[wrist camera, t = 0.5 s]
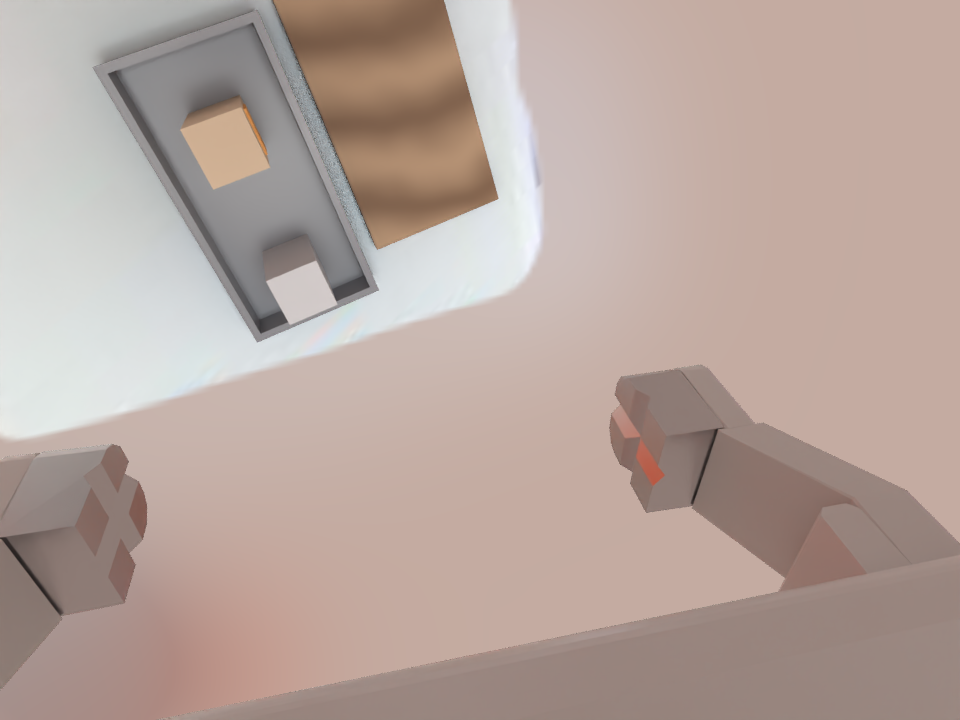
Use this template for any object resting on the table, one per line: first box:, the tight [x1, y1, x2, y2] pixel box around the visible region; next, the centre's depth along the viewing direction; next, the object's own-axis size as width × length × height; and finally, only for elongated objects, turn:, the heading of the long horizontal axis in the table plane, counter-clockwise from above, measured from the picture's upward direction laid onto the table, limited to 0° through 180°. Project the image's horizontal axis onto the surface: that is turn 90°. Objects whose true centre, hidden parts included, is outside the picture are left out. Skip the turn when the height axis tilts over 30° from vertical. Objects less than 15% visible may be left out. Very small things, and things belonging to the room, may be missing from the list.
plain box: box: [262, 234, 337, 325], centre depth 49 cm, size 4×4×7 cm
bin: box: [93, 10, 379, 342], centre depth 47 cm, size 22×11×4 cm, turn 17°
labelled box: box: [180, 95, 270, 190], centre depth 42 cm, size 4×4×8 cm
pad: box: [273, 0, 498, 250], centre depth 49 cm, size 20×12×1 cm, turn 17°
